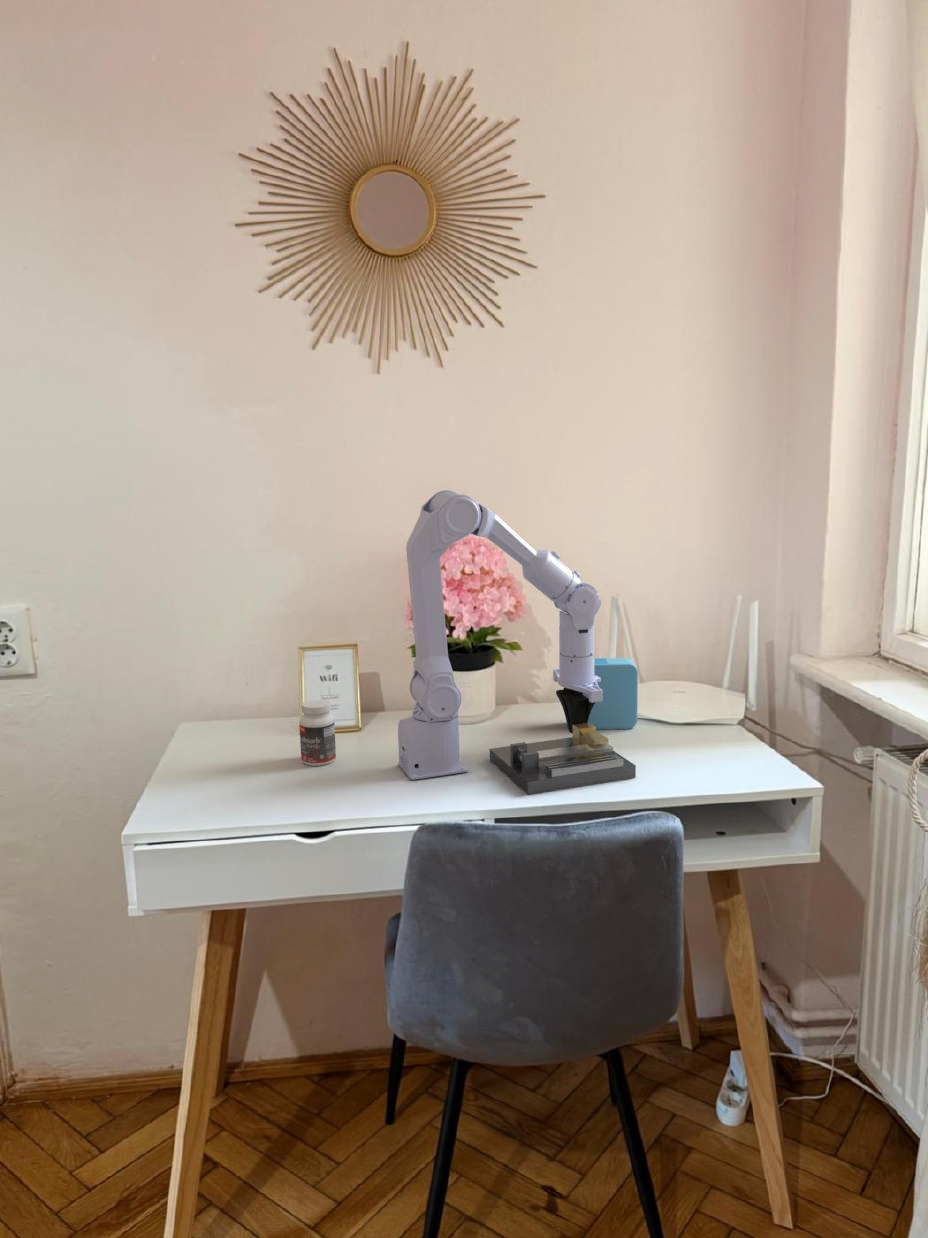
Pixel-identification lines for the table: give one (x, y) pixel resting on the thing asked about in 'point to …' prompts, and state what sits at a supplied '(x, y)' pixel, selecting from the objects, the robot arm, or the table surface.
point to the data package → (616, 694)
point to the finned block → (558, 767)
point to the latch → (587, 735)
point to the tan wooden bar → (570, 751)
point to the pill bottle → (317, 733)
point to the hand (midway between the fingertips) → (576, 732)
